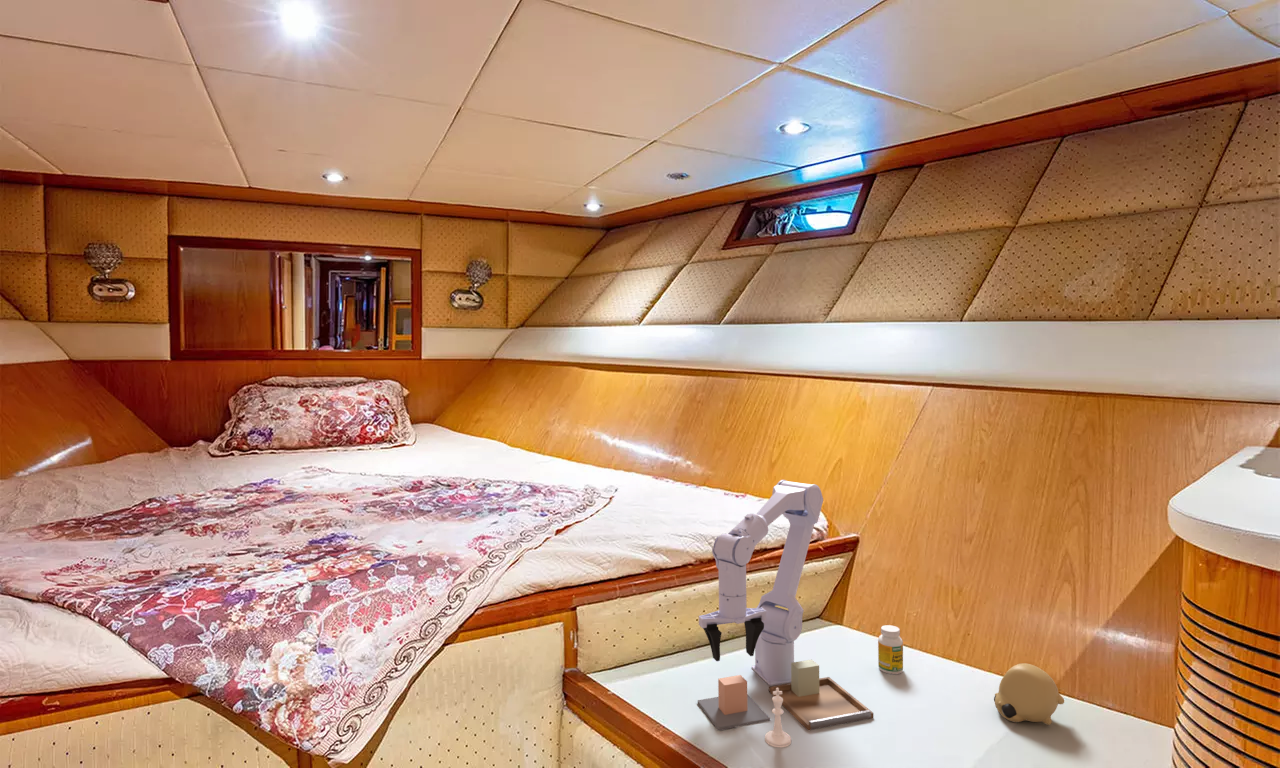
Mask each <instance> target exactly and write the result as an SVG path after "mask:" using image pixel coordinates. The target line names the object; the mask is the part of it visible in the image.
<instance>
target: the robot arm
mask: <svg viewBox="0 0 1280 768" xmlns="http://www.w3.org/2000/svg"><path fill="white" fill-rule="evenodd" d="M823 503H824V497H823V494H822V490H821V488H820V486H819V485H817V484H815V483H813V484H811V483H805V482H804V483H802V482H795V481H790V480H789V481H788V480H786V479H780V480H779V481H778V482H777V483H776V485H774V486H773V487H772V494H771V496H770V498H769V499H768V500H767V501H766V502H765V503H764V505H763V506H762V507H761V508H760V509H759V510H758V512H757V513H747V514H746V515H745V516H744V518H743V519H742V520H740V522H738V524H736V526H734V527H733V528H732V529H731V530H730V531H729V532H728V533H722V534H720V535H718V536H717V537H716V538H715V540H714V542H713V547H712V549H711V553H712V554H711V555H712V556H713V558H714V559H715V567H716V568H717V570H718V610H716V611H712V612H709V613H706V614H702V615H698V626H699V627H700V628H701V629H703V631H704V633H705V635H706V637H707V640H708V643H709V647H710V649H711V654H712V659H713V660H715V662H720V661H721V638H722V637H721V636H722V631H721V630H720V629H719V625H726V624H734V623H735V624H737V625H738V624H744V630H745V652H746V653H747V654H748V656H750V657H753V656H754V660H755V661H754V665H751V669H752V670H753V671H754V672H755V673H756V674H757V675H758V676H759V677H760V678H761V679H762V680H763V681H764V682H766V684H767V685H768V686H769V687H771V686H777V685H783V684H789V683H791V663H793V662H795V641H796V640H797V639H798V638H799V637H800V635H801V633H802V630H803V614H804V608H803V607H802V605H801V604H800V602H799V601H798V600H797V598H796V595H797V591H798V588H799V585H800V580H801V578H802V574H803V573H802V572H803V569H804V565H805V563H806V562H805V561H806V559H807V558H806V557H807V554H808V550H809V547H810V543H811V538H812V535H813V531H814V528H815V524H817V523H818V522H819V518H820V514H821V511H822V507H823ZM782 515H783V517H784V518H785V519H787V520H788V522H789V528H788V531H787V535H786V539H785V543H784V547H783V550H782V554H781V558H780V562H779V564H778V569H777V573H776V576H775V580H774V583H773V587H772V590H770V591H769V592H767V593H765V594H763V595H761V596H760V601H759V603H758V605H757V606H756V607H747V564H748V563H749V562H750V560H751V558H752V556H753V552H754V551H755V548H756V546H757V545H758V544H759V543H760V542H761V541H762V540H763V539H764V538H765V537H766V536H767V535H768V533H769V525H771V524H772V523H774V521H776V519H778V518H779V517H780V516H782ZM781 607H782V608H781ZM784 608H785V609H784Z"/></svg>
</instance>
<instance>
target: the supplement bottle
mask: <svg viewBox="0 0 1280 768" xmlns="http://www.w3.org/2000/svg"><path fill="white" fill-rule="evenodd" d="M900 631H901V630H900V627H898V626H895V625H890V624H887V625H882V626H881V627H880V635H879V636H878V639H877V646H878V647H877V653H878V654H877V657H878V661H877V662H878V669H879V670H880V671H881V672H883V673H885V674H890V675H899V674H901V673H902V672H903V671H904V642H903V639H902V637H901V636H900V635H901V632H900Z"/></svg>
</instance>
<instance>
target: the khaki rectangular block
mask: <svg viewBox="0 0 1280 768" xmlns="http://www.w3.org/2000/svg"><path fill="white" fill-rule="evenodd" d="M819 678H820V664H818V663H817V662H815V660H813V659H807V660H801V661H794V662H793V663H791V690H792V691H793V692H794V693H795V694H796V695H797V696H798V697H800V696H806V695H812V694H818V693H819Z"/></svg>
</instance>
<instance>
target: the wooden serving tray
mask: <svg viewBox="0 0 1280 768" xmlns="http://www.w3.org/2000/svg"><path fill="white" fill-rule="evenodd" d="M776 688H779V691H782V694H779V696H780V697H782V698H783V702H782V705H781V706H782V707H783V708H785V710H787V711H788V712H789V713H790V715H792V717H794V718H795V719H796V720H797V722H799V724H801V725H802V726H803V728H805V730H807V731H813V730H818V729H823V728H830V727H834V726H840V725H845V724H849V723H854V722H861V721H865V720H871V719H874V712H873V711H871V710H870V708H868V707H867V706H866V705H864V704H863V703H862V702H860V700H858V699H857V698H856V697H854V696H853V695H852V694H851V693H850V692H848V691H847V690H845V688H843V687H842V686H841V685H839V684H838V683H837V682H836V681H834V680H833V679H832V678H831V677H830V676H827V677H822V678H821V677H819V693H818V694H812V695H806V696H800V697H798V696H797V695H796V694H795V693H794V692H793V691H792V690H791V683H786V684H780V685H774V686H768V692H769V693H770V694H771V695H772V697H774V696H776V695H773V691H776Z"/></svg>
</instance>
